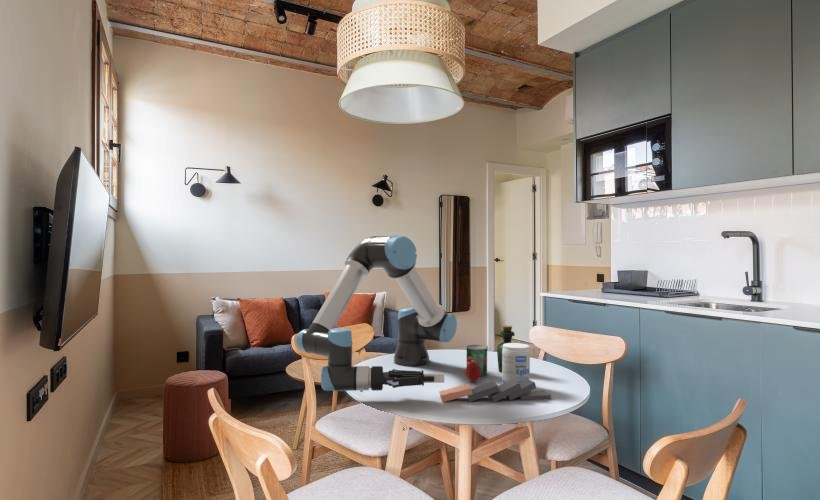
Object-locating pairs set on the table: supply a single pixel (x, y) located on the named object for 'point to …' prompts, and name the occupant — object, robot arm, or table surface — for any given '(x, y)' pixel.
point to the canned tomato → (478, 357)
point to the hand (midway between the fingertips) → (444, 377)
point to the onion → (473, 371)
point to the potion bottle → (507, 338)
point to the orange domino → (455, 392)
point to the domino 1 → (483, 391)
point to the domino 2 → (505, 390)
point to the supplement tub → (515, 362)
